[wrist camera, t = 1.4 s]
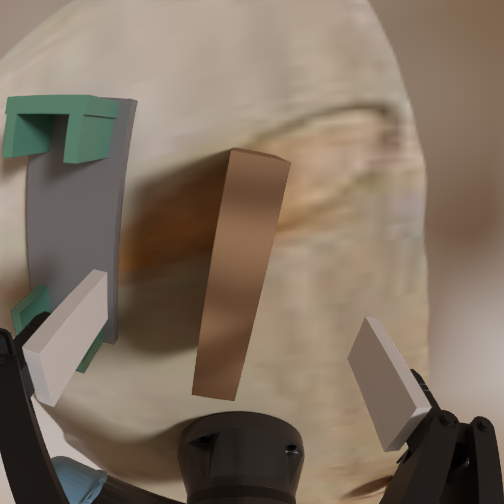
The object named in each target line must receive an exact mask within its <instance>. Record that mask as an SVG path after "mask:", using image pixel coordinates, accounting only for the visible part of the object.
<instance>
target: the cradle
mask: <svg viewBox="0 0 504 504" xmlns="http://www.w3.org/2000/svg"><path fill="white" fill-rule="evenodd" d="M136 106H137V101H136V100H133V99H122V98H103V97H96V96H91V95H34V96H15V97H8V99H7V105H6V112H5V114H7V117H6V125H5V134H4V144H3V156H2V157H6V158H14V157H20V156H25V155H29V164H28V180H27V244H28V261H29V273H30V283H31V293H29V294H28V295H27V296H26V297H25V298H24V299H23V300H22V301H20V302H19V303H18V304H17V305H16V306H15V307H14V308H13V309H12V310H11V313H12V319H13V324H14V328H15V333H16V336H17V335H18V334H19V333H20V332H21V331H22V330H23V329H24V327H25V326H26V325H27V324H29V322H30V321H31V320H32V319H33V318H34V317H35V316H36V315H38V314H40V313H42V312H44V311H46V312H49V313H52V312H53V311H54V310H55V309H56V308H57V307H58V306H59V305H60V304H61V303H62V302H63V301H64V300H65V298H66V297H67V296H68V295H69V294H70V293H71V292H72V291H73V290H74V289H75V288H76V287H77V286H78V285H79V284H80V283H81V282H82V281H83V280H84V279H85V278H86V277H87V276H88V275H89V274H90V273H91V272H92V271H93V270H94V269H95V270H99V271H104V272H107V306H108V320H107V321H106V323H105V324H104V326H103V327H102V329H101V330H100V332H99V333H98V335H97V337H96V338H95V340H94V341H93V343H92V344H91V346H90V348H89V349H88V351H87V352H86V354H85V356H84V357H83V359H82V360H81V362H80V364H79V365H78V367H77V369H76V370H75V371H78V372H81V373H85V371H86V369H87V368H88V366H89V364H90V363H91V361H92V359H93V357H94V356H95V354H96V352H97V351H98V349H99V347H100V346H101V344H102V342H106V343H110V344H113V345H114V344H115V342H116V340H117V338H118V316H117V298H118V259H119V240H120V226H121V213H122V203H123V193H124V184H125V175H126V167H127V160H128V153H129V146H130V140H131V134H132V128H133V122H134V116H135V111H136Z"/></svg>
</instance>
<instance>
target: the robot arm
mask: <svg viewBox="0 0 504 504" xmlns="http://www.w3.org/2000/svg"><path fill="white" fill-rule="evenodd" d="M107 320H108V306H107V272H104V271H99V270H95V269H94V270H93V271H92V272H91V273H90V274H89V275H88V276H87V277H86V278H85V279H84V280H83V281H82V282H81V283H80V284H79V285H78V286H77V287H76V288H75V289H74V290H73V291H72V292H71V293H70V294H69V295H68V296H67V297H66V298H65V300H64V301H63V302H62V303H61V304H60V305H59V306H58V307H57V308H56V309H55V310H54V311H53V312H52V313H49V312H46V311H44V312H42V313H40V314H38V315H36V316H35V317H34V318H33V319H32V320H31V321H30V322H29V324H27V325H26V326H25V327H24V329H23V330H22V331H21V332H20V333H19V334H18V335H17V336H16V337H15V338H14V340H13V339H12V336H11V333H10V332H9V331H7V330H6V329H2V328H0V453H1V457H2V460H3V464H4V468H5V471H6V475H7V478H8V482H9V485H10V488H11V491H12V494H13V497H14V500H15V503H16V504H186V503H182V502H179V501H176V500H173V499H169V498H166V497H163V496H160V495H157V494H155V493H152V492H149V491H146V490H144V489H141V488H138V487H136V486H133V485H131V484H128V483H126V482H123V481H121V480H118V479H116V478H114V477H111V476H109V475H107V473H106V472H105V471H103V470H95V469H93V468H91V467H88V466H86V465H84V464H82V463H79V462H77V461H75V460H73V459H71V458H68V457H64V456H57V457H53V458H51V459H50V456H49V453H48V451H47V448H46V445H45V443H44V440H43V437H42V434H41V431H40V427H39V424H38V421H37V418H36V415H35V411H34V408H33V404H32V401H31V396H32V394H33V393H34V391H35V394H36V397H37V399H38V401H39V402H42V403H44V404H47V405H49V406H52V407H54V406H55V405H56V403H57V401H58V399H59V398H60V396H61V394H62V392H63V391H64V389H65V387H66V385H67V384H68V382H69V380H70V379H71V377H72V375H73V374H74V372H75V370H76V369H77V367H78V365H79V364H80V362H81V360H82V359H83V357H84V356H85V354H86V352H87V351H88V349H89V348H90V346H91V344H92V343H93V341H94V340H95V338H96V337H97V335H98V333H99V332H100V330H101V329H102V327H103V326H104V324H105V323H106V321H107ZM348 360H349V363H350V365H351V368H352V370H353V372H354V375H355V377H356V380H357V382H358V385H359V387H360V390H361V392H362V395H363V397H364V400H365V403H366V405H367V408H368V410H369V413H370V415H371V418H372V421H373V423H374V426H375V428H376V431H377V434H378V436H379V439H380V442H381V444H382V447H383V450H384V452H388V451H397V450H400V448H401V447H402V446H403V445H404V443H405V442H407V445H408V447H409V448H408V449H407V450H406V452H405V453H404V454H403V455H402V456H401V457H400V459H399V460H398V461H397V462H396V463H399V462H400V461H401V462H400V464H399V466H398V468H397V470H396V472H395V474H394V476H393V478H392V480H391V482H390V484H389V486H388V488H387V490H386V492H385V494H384V496H383V498H382V499H381V501H380V503H379V504H438V503H439V504H504V493H503V483H502V473H501V466H500V459H499V452H498V446H497V440H496V435H495V430H494V427H493V425H492V423H491V422H490V421H489V420H488V419H487V418H484V417H480V416H477V417H475V418H474V419H473V421H472V422H471V423H470V424H466V423H460V422H459V421H458V419H457V417H456V416H455V415H454V414H452V413H451V412H449V411H446V410H441V409H440V407H439V406H438V404H437V402H436V400H435V399H434V397H433V395H432V394H431V392H430V391H429V389H428V387H427V385H425V382H424V380H423V379H422V377H421V376H420V375H419V374H418V373H417V372H416V371H415V370H414V369H409V367H408V366H407V364H406V362H405V361H404V359H403V357H402V356H401V354H400V353H399V351H398V349H397V348H396V346H395V345H394V343H393V341H392V340H391V338H390V337H389V335H388V333H387V332H386V330H385V329H384V327H383V326H382V324H381V323H380V321H379V319H378V318H372V317H365V318H364V321H363V323H362V326H361V328H360V331H359V333H358V335H357V338H356V340H355V342H354V345H353V347H352V349H351V351H350V354H349V356H348ZM178 462H179V466H180V470H181V474H182V478H183V481H184V485H185V489H186V492H187V504H296V499H295V495H296V491H297V487H298V483H299V479H300V475H301V471H302V467H303V463H304V448H303V442H302V438H301V435H300V434H299V432H298V431H297V430H296V429H295V428H294V427H293V426H292V425H290V424H289V423H287V422H285V421H283V420H281V419H278V418H275V417H272V416H268V415H264V414H258V413H249V412H231V413H222V414H216V415H212V416H208V417H205V418H202V419H200V420H197V421H195V422H194V423H192V424H191V425H189V426H188V427H187V428H186V429H185V430H184V431H183V433H182V434H181V436H180V440H179V446H178ZM468 462H469V464H468Z"/></svg>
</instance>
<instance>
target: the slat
mask: <svg viewBox="0 0 504 504" xmlns="http://www.w3.org/2000/svg"><path fill="white" fill-rule="evenodd" d="M290 164H291V163H290V162H288V161H286V160H284V159H282V158H280V157H278V156H275V155H271V154H266V153H261V152H256V151H251V150H246V149H241V148H234V149H233V150H231V153H230V159H229V164H228V169H227V174H226V179H225V185H224V190H223V195H222V201H221V206H220V212H219V218H218V223H217V229H216V235H215V241H214V246H213V252H212V258H211V264H210V270H209V277H208V283H207V289H206V296H205V302H204V309H203V315H202V322H201V329H200V336H199V343H198V350H197V357H196V365H195V372H194V380H193V388H192V395H197V396H203V397H209V398H215V399H222V400H229V401H234V400H235V396H236V393H237V389H238V385H239V381H240V377H241V373H242V369H243V365H244V361H245V357H246V353H247V349H248V344H249V340H250V336H251V332H252V328H253V324H254V320H255V316H256V312H257V307H258V303H259V299H260V295H261V291H262V287H263V282H264V278H265V274H266V270H267V265H268V261H269V257H270V252H271V248H272V244H273V240H274V235H275V231H276V226H277V222H278V218H279V213H280V209H281V205H282V200H283V196H284V191H285V187H286V182H287V178H288V173H289V169H290Z"/></svg>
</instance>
